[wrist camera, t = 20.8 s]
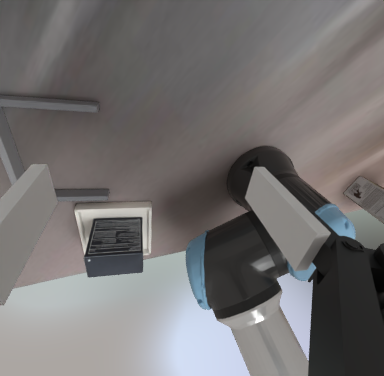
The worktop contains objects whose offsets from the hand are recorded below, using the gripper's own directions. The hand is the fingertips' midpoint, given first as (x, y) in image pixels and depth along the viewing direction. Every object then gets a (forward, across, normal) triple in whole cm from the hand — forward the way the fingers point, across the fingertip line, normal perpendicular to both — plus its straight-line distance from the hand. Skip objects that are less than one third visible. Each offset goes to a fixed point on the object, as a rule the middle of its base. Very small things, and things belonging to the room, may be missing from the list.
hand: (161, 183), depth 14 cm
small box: (+26, +7, +28) cm, 39 cm away
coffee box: (+27, -58, +19) cm, 67 cm away
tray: (+27, +7, +29) cm, 40 cm away
